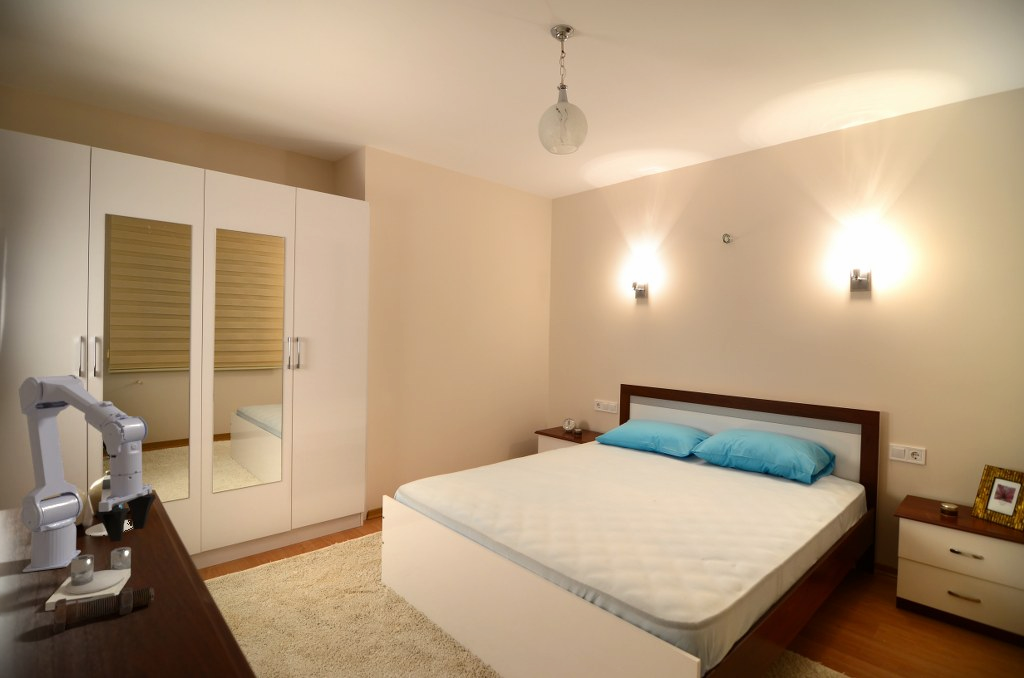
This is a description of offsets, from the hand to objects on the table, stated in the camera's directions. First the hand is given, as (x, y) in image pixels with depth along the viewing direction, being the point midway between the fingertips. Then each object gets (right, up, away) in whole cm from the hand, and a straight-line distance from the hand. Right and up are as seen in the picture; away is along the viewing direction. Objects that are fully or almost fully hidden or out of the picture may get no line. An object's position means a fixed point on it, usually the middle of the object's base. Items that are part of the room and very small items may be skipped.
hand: (127, 534), depth 115 cm
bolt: (+7, -11, -15) cm, 20 cm away
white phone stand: (-27, -10, +30) cm, 41 cm away
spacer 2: (-4, -10, +4) cm, 11 cm away
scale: (-3, -10, -6) cm, 12 cm away
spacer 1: (-5, -7, -7) cm, 11 cm away
